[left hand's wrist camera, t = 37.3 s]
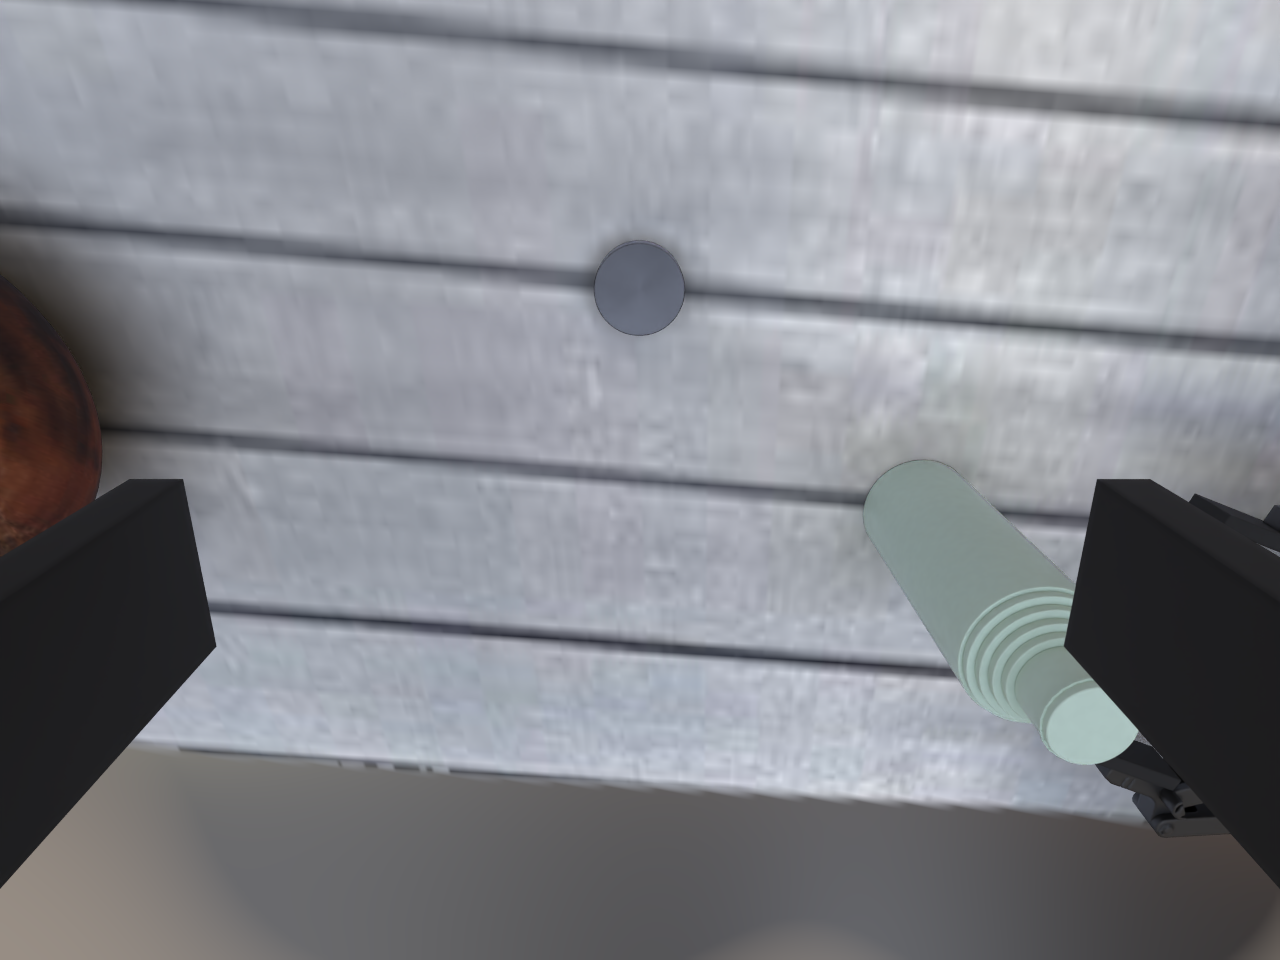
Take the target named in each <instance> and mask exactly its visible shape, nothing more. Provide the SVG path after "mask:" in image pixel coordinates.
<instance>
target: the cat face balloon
mask: <svg viewBox="0 0 1280 960" xmlns="http://www.w3.org/2000/svg"><path fill="white" fill-rule="evenodd" d="M101 467H102V439H101V429H100V424H99V419H98V414H97V411H96V407H95V404H94V401H93V398H92V395H91V392H90V390H89V388H88V386H87V383H86V381H85V379H84V377H83V374H82V372H81V370H80V368H79V366H78V364H77V363H76V361H75V359H74V357H73V356H72V354H71V352H70V350H69V349H68V348H67V346H66V345H65V343H64V342H63V340H62V339H61V338H60V336H59V335H58V333H57V332H56V331H55V330H54V328H53V327H52V326H51V325H50V324H49V322H48V321H47V320H46V319H45V318H44V316H43V315H42V314H41V313H40V312H39V311H38V309H37V308H36V307H35V306H34V305H33V304H32V303H31V302H30V301H29V300H28V299H27V298H26V297H25V296H24V295H23V294H22V293H21V292H20V291H19V290H18V289H17V288H16V287H14V286H13V285H12V284H11V283H10V282H9V281H7V280H6V279H5V278H4V277H3V276H2V275H0V557H2V556H3V555H5V554H6V553H8V552H10V551H11V550H13V549H15V548H16V547H18V546H20V545H21V544H23V543H25V542H26V541H28V540H30V539H31V538H33V537H35V536H36V535H38V534H40V533H41V532H43V531H45V530H46V529H48V528H50V527H51V526H53V525H55V524H56V523H58V522H60V521H61V520H63V519H65V518H66V517H68V516H70V515H71V514H73V513H75V512H76V511H78V510H80V509H81V508H83V507H84V506H86V505H88V504H89V503H91V502H93V501H94V500H95V498H96V495H97V492H98V487H99V482H100V476H101Z"/></svg>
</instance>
